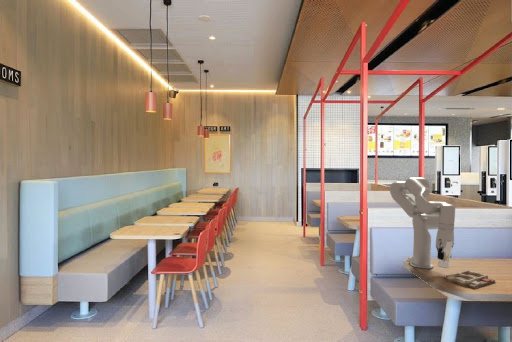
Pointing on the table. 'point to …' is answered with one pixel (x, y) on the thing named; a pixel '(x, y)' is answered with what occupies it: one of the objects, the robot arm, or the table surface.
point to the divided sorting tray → (469, 279)
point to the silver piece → (446, 255)
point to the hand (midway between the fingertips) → (444, 258)
